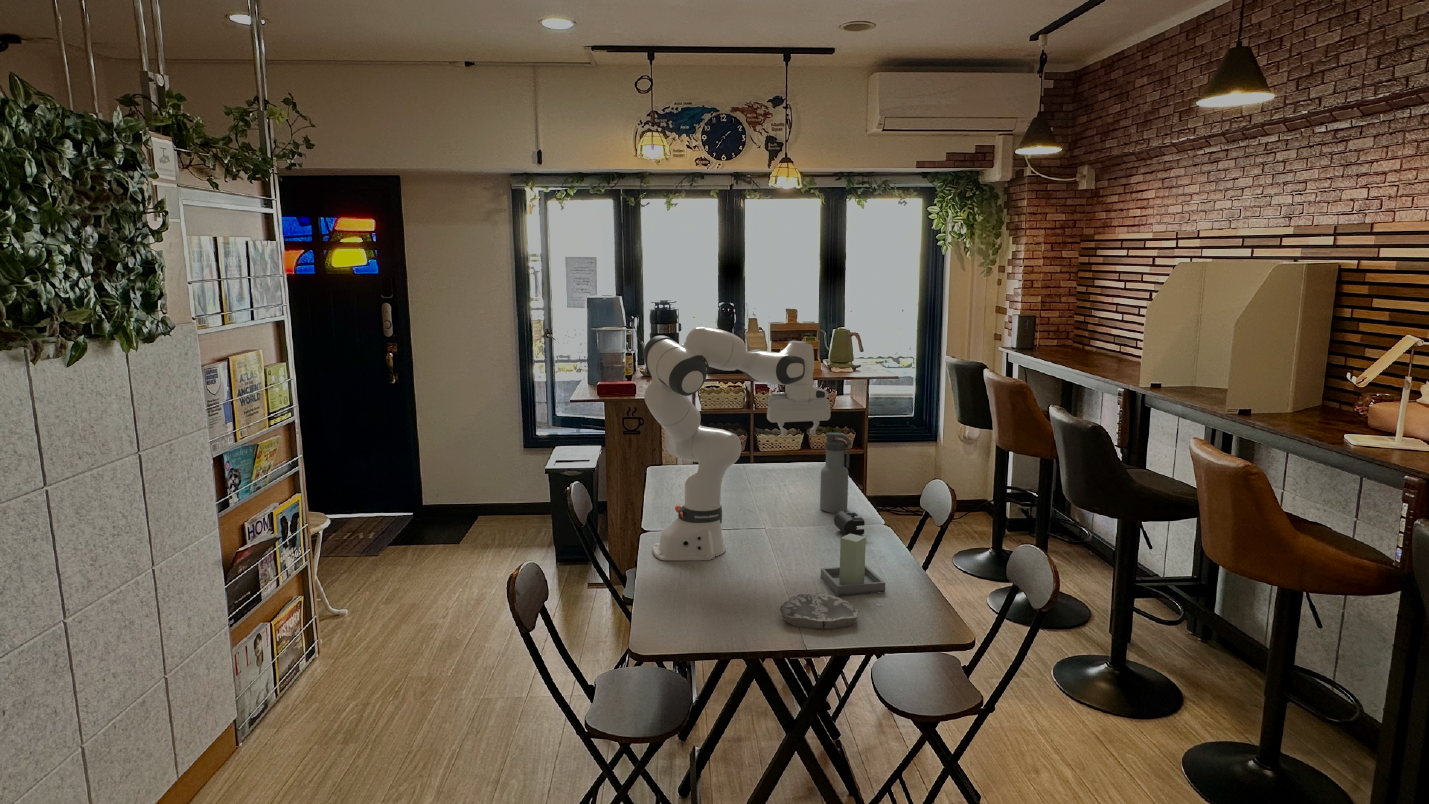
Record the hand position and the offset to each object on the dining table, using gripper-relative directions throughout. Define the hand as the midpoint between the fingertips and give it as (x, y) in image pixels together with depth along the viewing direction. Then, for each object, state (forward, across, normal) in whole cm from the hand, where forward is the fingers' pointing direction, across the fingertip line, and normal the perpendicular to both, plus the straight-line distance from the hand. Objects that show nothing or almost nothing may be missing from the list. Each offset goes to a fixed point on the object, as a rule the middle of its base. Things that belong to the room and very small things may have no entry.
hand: (798, 435), depth 267 cm
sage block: (+33, +3, -41) cm, 53 cm away
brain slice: (+35, -13, -59) cm, 70 cm away
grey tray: (+34, +3, -41) cm, 53 cm away
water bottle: (+34, +23, +27) cm, 49 cm away
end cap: (+34, +18, 0) cm, 39 cm away
